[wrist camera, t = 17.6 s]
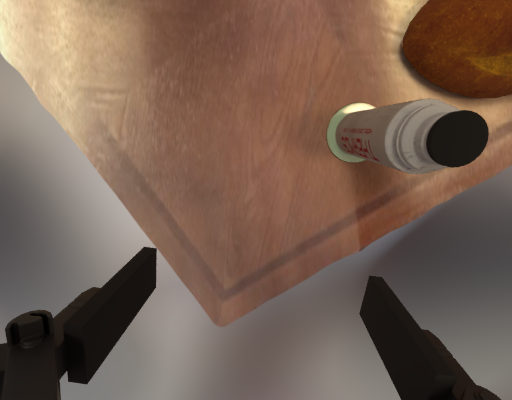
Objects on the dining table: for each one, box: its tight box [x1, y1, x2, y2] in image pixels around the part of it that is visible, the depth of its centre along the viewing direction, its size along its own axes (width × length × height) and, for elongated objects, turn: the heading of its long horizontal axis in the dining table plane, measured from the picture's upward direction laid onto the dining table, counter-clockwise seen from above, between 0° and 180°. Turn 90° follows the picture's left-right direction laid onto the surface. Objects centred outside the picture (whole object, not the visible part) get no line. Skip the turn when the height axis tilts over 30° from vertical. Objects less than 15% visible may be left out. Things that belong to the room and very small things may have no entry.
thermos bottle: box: [335, 99, 489, 174], centre depth 36 cm, size 8×8×28 cm
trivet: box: [326, 103, 375, 163], centre depth 50 cm, size 11×11×1 cm
